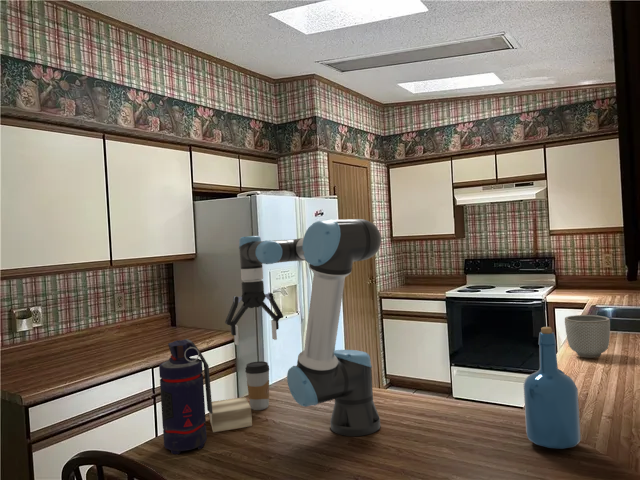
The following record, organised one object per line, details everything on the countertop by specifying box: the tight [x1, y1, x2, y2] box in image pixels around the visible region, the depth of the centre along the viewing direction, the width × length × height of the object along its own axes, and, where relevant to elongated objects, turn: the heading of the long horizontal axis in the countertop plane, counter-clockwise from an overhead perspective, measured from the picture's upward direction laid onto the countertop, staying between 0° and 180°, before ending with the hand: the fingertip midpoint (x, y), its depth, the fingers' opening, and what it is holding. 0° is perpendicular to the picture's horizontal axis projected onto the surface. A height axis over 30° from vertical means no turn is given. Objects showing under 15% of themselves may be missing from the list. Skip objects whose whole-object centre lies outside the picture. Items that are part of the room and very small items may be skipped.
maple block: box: [208, 396, 253, 433], centre depth 164 cm, size 12×12×6 cm
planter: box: [564, 314, 611, 359], centre depth 221 cm, size 17×17×16 cm
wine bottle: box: [523, 326, 581, 450], centre depth 136 cm, size 14×13×30 cm
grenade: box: [158, 338, 213, 455], centre depth 147 cm, size 14×12×30 cm
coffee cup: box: [245, 361, 270, 411], centre depth 178 cm, size 8×8×15 cm
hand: (256, 342), depth 178 cm, fingers open, 13 cm apart
